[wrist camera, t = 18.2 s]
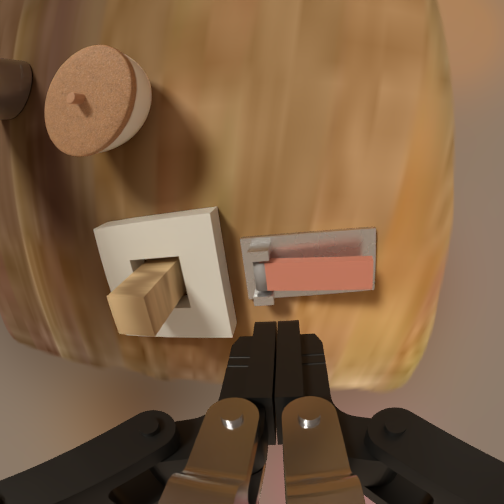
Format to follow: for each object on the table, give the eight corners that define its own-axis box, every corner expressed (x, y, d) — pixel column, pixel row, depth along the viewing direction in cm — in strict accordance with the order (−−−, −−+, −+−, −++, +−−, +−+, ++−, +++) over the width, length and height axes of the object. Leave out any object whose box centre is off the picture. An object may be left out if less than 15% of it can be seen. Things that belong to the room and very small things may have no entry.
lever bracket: (249, 296, 33) (245, 311, 30) (240, 237, 31) (235, 247, 28) (373, 287, 31) (380, 301, 28) (374, 226, 29) (383, 235, 26)
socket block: (136, 322, 37) (126, 335, 34) (107, 222, 33) (93, 229, 30) (236, 322, 35) (232, 337, 32) (217, 206, 30) (209, 213, 28)
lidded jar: (119, 47, 25) (69, 27, 16) (186, 86, 26) (145, 66, 18) (74, 124, 29) (19, 126, 20) (133, 169, 30) (81, 181, 21)
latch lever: (258, 284, 32) (254, 291, 30) (254, 257, 31) (250, 264, 29) (371, 282, 28) (372, 290, 27) (371, 255, 27) (373, 261, 26)
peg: (158, 287, 35) (119, 333, 25) (151, 256, 33) (106, 296, 24) (188, 287, 34) (155, 336, 25) (182, 254, 33) (143, 297, 23)
